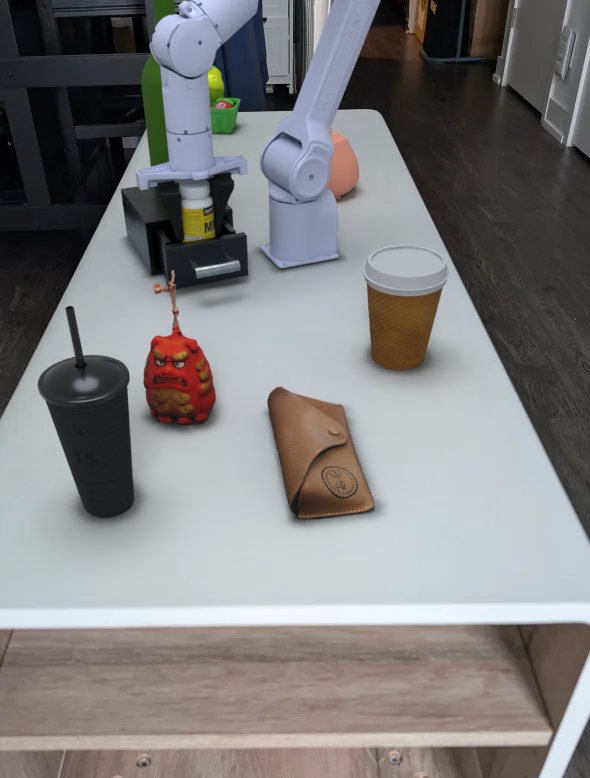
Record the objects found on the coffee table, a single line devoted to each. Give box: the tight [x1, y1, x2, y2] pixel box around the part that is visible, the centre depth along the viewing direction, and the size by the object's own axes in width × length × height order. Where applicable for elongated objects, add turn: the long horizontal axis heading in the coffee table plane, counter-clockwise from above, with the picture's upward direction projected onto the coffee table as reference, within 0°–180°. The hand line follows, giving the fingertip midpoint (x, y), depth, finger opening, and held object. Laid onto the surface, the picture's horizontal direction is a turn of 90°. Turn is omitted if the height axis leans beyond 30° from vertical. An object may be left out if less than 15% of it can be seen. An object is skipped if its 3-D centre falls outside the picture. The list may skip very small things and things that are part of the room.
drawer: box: [152, 218, 249, 290], centre depth 110 cm, size 18×11×6 cm, turn 21°
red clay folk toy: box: [143, 270, 217, 426], centre depth 82 cm, size 8×7×15 cm
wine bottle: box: [140, 0, 206, 180], centre depth 121 cm, size 9×9×32 cm
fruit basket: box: [208, 65, 241, 134], centre depth 163 cm, size 11×9×11 cm
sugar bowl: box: [325, 127, 360, 200], centre depth 134 cm, size 12×14×10 cm
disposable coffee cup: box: [362, 244, 451, 371], centre depth 91 cm, size 10×10×12 cm
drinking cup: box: [37, 305, 135, 518], centre depth 69 cm, size 8×8×20 cm
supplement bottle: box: [179, 179, 215, 243], centre depth 107 cm, size 5×5×8 cm
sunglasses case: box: [266, 386, 375, 520], centre depth 79 cm, size 18×7×7 cm
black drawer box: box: [120, 179, 234, 277], centre depth 118 cm, size 15×13×8 cm
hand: (197, 234), depth 109 cm, fingers closed on supplement bottle, 5 cm apart
